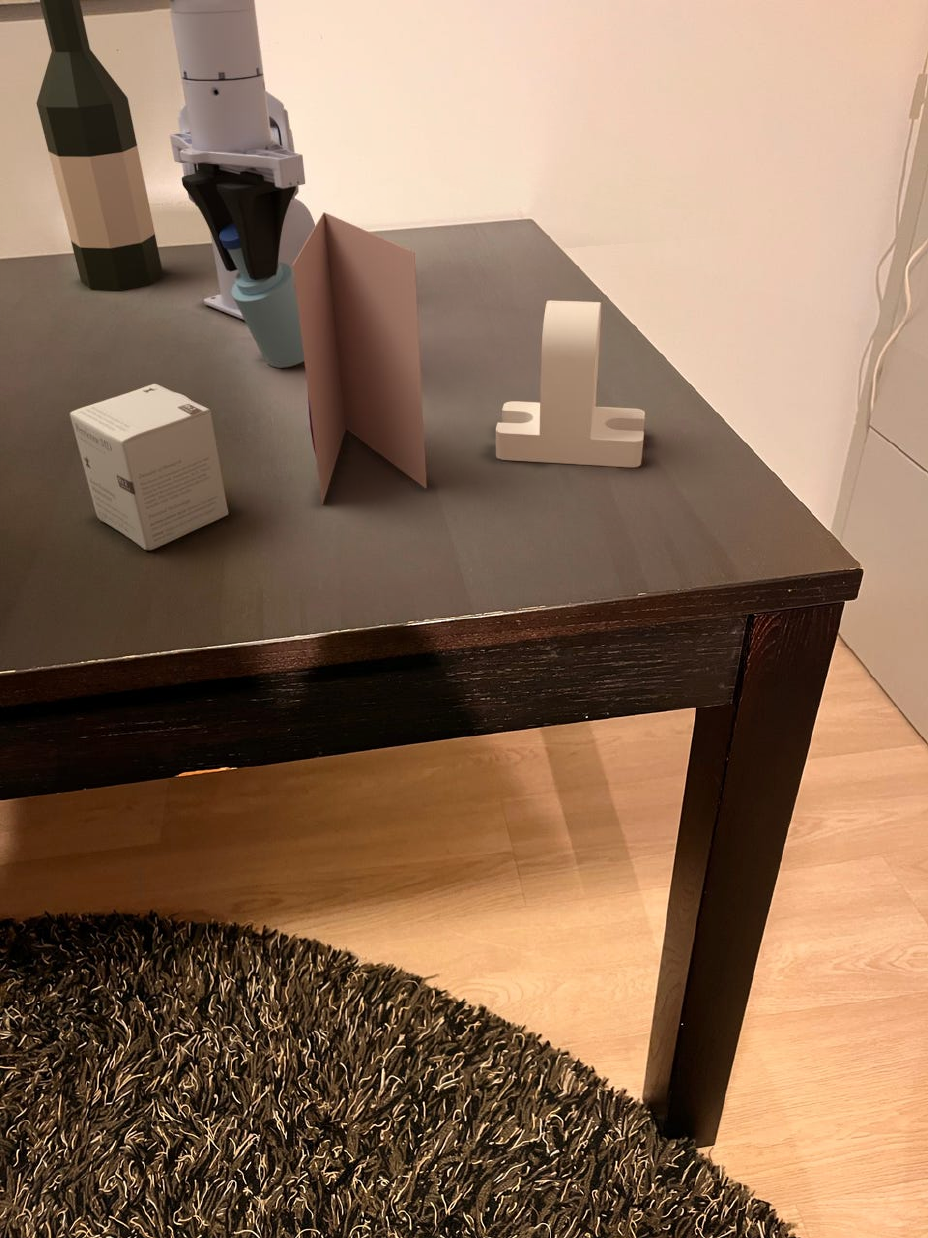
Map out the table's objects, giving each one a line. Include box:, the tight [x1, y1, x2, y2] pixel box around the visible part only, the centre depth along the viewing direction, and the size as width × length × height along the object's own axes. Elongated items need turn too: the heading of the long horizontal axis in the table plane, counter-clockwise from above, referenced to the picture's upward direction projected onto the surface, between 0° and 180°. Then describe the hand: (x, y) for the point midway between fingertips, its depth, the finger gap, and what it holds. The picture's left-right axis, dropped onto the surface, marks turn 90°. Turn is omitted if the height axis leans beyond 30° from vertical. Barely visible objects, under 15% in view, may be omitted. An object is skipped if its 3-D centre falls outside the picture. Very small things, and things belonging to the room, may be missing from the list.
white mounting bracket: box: [495, 300, 646, 468], centre depth 65 cm, size 5×10×10 cm, turn 80°
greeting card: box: [293, 212, 427, 505], centre depth 62 cm, size 11×7×15 cm, turn 178°
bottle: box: [219, 222, 305, 369], centre depth 78 cm, size 5×5×11 cm
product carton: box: [69, 383, 229, 551], centre depth 59 cm, size 6×6×7 cm
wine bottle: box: [36, 0, 164, 292], centre depth 94 cm, size 8×8×30 cm
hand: (251, 272), depth 77 cm, fingers closed on bottle, 3 cm apart
